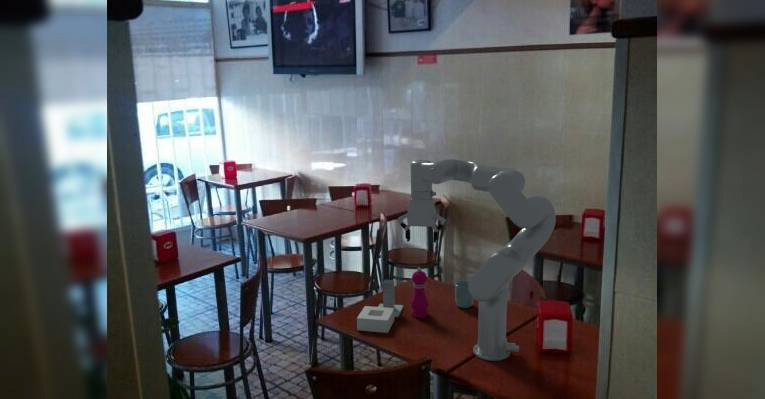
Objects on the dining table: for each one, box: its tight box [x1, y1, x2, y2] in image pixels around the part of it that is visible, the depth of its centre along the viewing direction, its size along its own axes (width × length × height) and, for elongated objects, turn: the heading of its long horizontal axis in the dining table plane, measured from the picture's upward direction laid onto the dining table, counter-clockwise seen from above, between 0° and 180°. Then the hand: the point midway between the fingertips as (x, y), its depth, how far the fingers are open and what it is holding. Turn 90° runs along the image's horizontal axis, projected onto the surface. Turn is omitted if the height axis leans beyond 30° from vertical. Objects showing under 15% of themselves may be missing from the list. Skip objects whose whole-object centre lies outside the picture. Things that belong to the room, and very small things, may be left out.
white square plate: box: [377, 303, 404, 318], centre depth 239 cm, size 10×10×1 cm
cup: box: [454, 280, 475, 309], centre depth 241 cm, size 8×8×10 cm
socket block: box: [356, 305, 395, 334], centre depth 225 cm, size 12×12×5 cm
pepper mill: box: [410, 267, 429, 319], centre depth 233 cm, size 7×7×20 cm
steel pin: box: [382, 279, 396, 308], centre depth 237 cm, size 4×4×12 cm
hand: (421, 241), depth 209 cm, fingers open, 9 cm apart
